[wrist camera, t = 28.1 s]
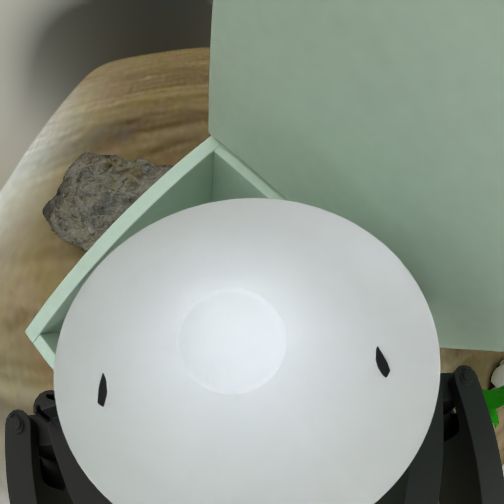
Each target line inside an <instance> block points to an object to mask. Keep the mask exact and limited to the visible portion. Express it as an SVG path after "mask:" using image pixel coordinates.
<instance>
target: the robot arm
mask: <svg viewBox="0 0 504 504" xmlns="http://www.w3.org/2000/svg"><path fill="white" fill-rule="evenodd" d="M376 363H377V366H378V369H379V370H380V372H381V374H382V375H383V376H384V377H385V378H386V377H387V376H388V374H389V372H390V369H389V366H388V363H387V361H386V359H385V357H384V356H383V354H382V352H381V350H380V349H379V347H378V346H377V348H376ZM106 396H107V384H106V378H105V376H104V373H103V374H102V377H101V380H100V384H99V390H98V404H99V405H101V406H102V407H104V404H105V400H106ZM454 408H456V412H457V413H455V412H454V411H453V409H454ZM34 413H35V414H36V415H27V414H26V413H25V412H24V411H22V410H13V411H12V412H11V413H10V414H9V415H8V417H7V419H6V424H5V458H6V474H7V484H8V492H9V499H10V504H112V503H111V502H110V501H109V500H108V499H107V498H106V497H105V496H104V495H103V494H102V493H101V492H100V491H99V490H98V489H97V488H96V486H95V485H94V484H93V483H92V482H91V481H90V479H89V478H88V477H87V475H86V474H85V473H84V471H83V470H82V468H81V467H80V465H79V464H78V462H77V460H76V459H75V457H74V455H73V453H72V451H71V449H70V447H69V445H68V443H67V440H66V438H65V435H64V433H63V430H62V427H61V424H60V420H59V417H58V412H57V407H56V401H55V394H54V391H52V390H49V391H44V392H43V393H41V394H40V395H39V396H38V397H37V398H36V400H35V403H34ZM438 502H439V504H504V477H503V470H502V464H501V459H500V454H499V449H498V444H497V440H496V436H495V432H494V428H493V424H492V421H491V417H490V414H489V410H488V407H487V404H486V401H485V398H484V395H483V392H482V389H481V386H480V383H479V380H478V378H477V375H476V374H475V372H474V371H473V370H472V369H471V368H470V367H468V366H464V365H462V366H459V367H458V368H457V369H456V370H455V371H454V372H453V373H440V383H439V391H438V398H437V402H436V407H435V411H434V414H433V417H432V420H431V423H430V426H429V429H428V431H427V434H426V436H425V438H424V441H423V443H422V444H421V446H420V448H419V450H418V452H417V454H416V455H415V457H414V459H413V460H412V462H411V463H410V465H409V466H408V468H407V469H406V470H405V472H404V473H403V474H402V476H401V477H400V478H399V479H398V481H397V482H396V483H395V484H394V485H393V486H392V487H391V488H390V489H389V490H388V491H387V492H386V493H385V494H384V495H383V496H382V497H381V498H380V499H379V500H378V501H377V502H376V503H374V504H438Z"/></svg>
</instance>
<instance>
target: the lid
mask: <svg viewBox="0 0 504 504" xmlns="http://www.w3.org/2000/svg"><path fill="white" fill-rule="evenodd" d="M209 133H210V134H211V135H212V136H214V137H215V138H216V139H217V140H219V141H220V142H221V143H222V144H223V145H225V146H226V147H227V148H228V149H230V150H231V151H232V152H233V153H234V154H236V155H237V156H238V157H239V158H240V159H242V160H243V161H244V162H245V163H246V164H247V165H249V166H250V167H251V168H252V169H253V170H254V171H256V172H257V173H258V174H259V175H260V176H261V177H263V178H264V179H265V180H266V181H267V182H268V183H269V184H271V185H272V186H273V187H274V188H275V189H276V190H277V191H278V192H280V193H281V194H282V195H283V196H284V197H285V198H286V199H287V200H288V201H293V202H299V203H303V204H306V205H310V206H314V207H318V208H321V209H323V210H326V211H329V212H331V213H334V214H336V215H339V216H341V217H343V218H345V219H347V220H349V221H351V222H353V223H355V224H356V225H358V226H359V227H361V228H363V229H364V230H366V231H367V232H369V233H370V234H372V235H373V236H374V237H376V238H377V239H378V240H379V241H380V242H382V243H383V244H384V245H385V246H387V247H388V248H389V249H390V250H391V251H392V252H393V253H394V254H395V255H396V256H397V257H398V258H399V260H400V261H401V262H402V263H403V265H404V266H405V267H406V268H407V270H408V271H409V272H410V273H411V275H412V277H413V278H414V280H415V281H416V283H417V284H418V286H419V288H420V290H421V291H422V293H423V295H424V297H425V299H426V301H427V304H428V306H429V309H430V312H431V314H432V317H433V321H434V324H435V328H436V332H437V337H438V343H439V346H443V347H452V348H462V349H473V350H486V351H501V352H504V0H213V9H212V26H211V46H210V75H209Z"/></svg>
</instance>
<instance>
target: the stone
mask: <svg viewBox="0 0 504 504" xmlns="http://www.w3.org/2000/svg"><path fill="white" fill-rule="evenodd" d="M172 167H174V166H171V165H164V166H158V165H153V164H151V163H150V162H149V161H148V160H147V159H144V158H141V159H137V160H136V161H126V160H124V159H122V158H121V157H119V156H117V155H113V156H109V155H100V154H93V153H89V152H85V153H83V154H82V155H81V156H80V157H79V158H78V159H77V160H76V161H75V162H74V163H73V164H72V165H71V166H70V167H69V169H68V170H67V172H66V174H65V176H64V178H63V182H62V184H61V186H60V187H59V188H58V191H57V194H56V196H55V197H54V198H53V199H52V200H50V201H49V202H48V203H47V204H46V205H45V207H44V208H43V215H44V217H45V218H46V220H47V221H48V222H49V224H50V226H51V228H52V231H53V232H55V233H56V234H57V235H58V236H59V237H61V238H63V239H65V240H66V241H70V242H71V243H73V244H74V245H76V246H77V247H82V248H83V249H84V250H85V251H88V250H89V249H90V248H91V247H92V246H93V245H94V244H95V243H96V241H97V240H98V239H99V238H100V237H101V236H102V235H103V234H104V233H105V232H106V231H107V230H108V229H109V227H110V226H111V225H112V224H113V223H114V222H115V221H116V220H117V219H118V218H119V217H120V216H121V215H122V214H123V213H124V212H125V211H126V210H127V209H128V208H129V207H130V206H131V205H132V204H133V203H134V202H135V201H136V200H137V199H138V198H140V197H141V196H142V195H143V194H144V193H145V192H146V191H147V190H148V189H149V188H150V187H151V186H152V185H153V184H155V183H156V182H157V181H158V180H159V179H160V178H161V177H162V176H163V175H165V174H166V173H167V172H168V171H169V170H170V169H171V168H172Z"/></svg>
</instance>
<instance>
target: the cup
mask: <svg viewBox="0 0 504 504" xmlns="http://www.w3.org/2000/svg"><path fill="white" fill-rule="evenodd" d="M377 346H378V347H379V349H380V350H381V352H382V354H383V356H384V357H385V359H386V361H387V363H388V366H389V369H390V372H389V374H388V376H387V377H386V378H385V377H384V376H383V375H382V374H381V372H380V370H379V369H378V366H377V363H376V348H377ZM103 373H104V376H105V378H106V384H107V396H106V400H105V404H104V407H102V406H101V405H99V404H98V390H99V384H100V380H101V377H102V374H103ZM439 383H440V350H439V343H438V337H437V332H436V328H435V324H434V321H433V317H432V314H431V312H430V309H429V306H428V304H427V301H426V299H425V297H424V295H423V293H422V291H421V290H420V288H419V286H418V284H417V283H416V281H415V280H414V278H413V277H412V275H411V273H410V272H409V271H408V270H407V268H406V267H405V266H404V265H403V263H402V262H401V261H400V260H399V258H398V257H397V256H396V255H395V254H394V253H393V252H392V251H391V250H390V249H389V248H388V247H387V246H385V245H384V244H383V243H382V242H380V241H379V240H378V239H377V238H376V237H374V236H373V235H372V234H370V233H369V232H367V231H366V230H364V229H363V228H361V227H359V226H358V225H356V224H355V223H353V222H351V221H349V220H347V219H345V218H343V217H341V216H339V215H336V214H334V213H331V212H329V211H326V210H323V209H321V208H318V207H314V206H310V205H306V204H303V203H299V202H293V201H286V200H280V199H267V198H243V199H230V200H223V201H217V202H211V203H206V204H203V205H199V206H195V207H191V208H188V209H185V210H182V211H180V212H177V213H174V214H172V215H169V216H167V217H165V218H163V219H161V220H159V221H157V222H155V223H153V224H151V225H149V226H147V227H145V228H144V229H142V230H141V231H139V232H137V233H136V234H134V235H133V236H131V237H130V238H128V239H127V240H126V241H124V242H123V243H122V244H121V245H120V246H118V247H117V248H116V249H115V250H114V251H112V252H111V253H110V254H109V255H108V256H107V257H106V258H105V259H104V260H103V261H102V262H101V263H100V264H99V265H98V266H97V267H96V269H95V270H94V271H93V272H92V274H91V275H90V276H89V278H88V279H87V280H86V281H85V283H84V284H83V285H82V287H81V289H80V290H79V292H78V294H77V295H76V297H75V299H74V301H73V302H72V304H71V306H70V309H69V311H68V313H67V315H66V318H65V320H64V323H63V326H62V329H61V332H60V336H59V339H58V344H57V349H56V355H55V362H54V394H55V401H56V407H57V412H58V417H59V420H60V424H61V427H62V430H63V433H64V435H65V438H66V440H67V443H68V445H69V447H70V449H71V451H72V453H73V455H74V457H75V459H76V460H77V462H78V464H79V465H80V467H81V468H82V470H83V471H84V473H85V474H86V475H87V477H88V478H89V479H90V481H91V482H92V483H93V484H94V485H95V486H96V488H97V489H98V490H99V491H100V492H101V493H102V494H103V495H104V496H105V497H106V498H107V499H108V500H109V501H110V502H111V503H112V504H374V503H376V502H377V501H378V500H379V499H380V498H381V497H382V496H383V495H384V494H385V493H386V492H387V491H388V490H389V489H390V488H391V487H392V486H393V485H394V484H395V483H396V482H397V481H398V479H399V478H400V477H401V476H402V474H403V473H404V472H405V470H406V469H407V468H408V466H409V465H410V463H411V462H412V460H413V459H414V457H415V455H416V454H417V452H418V450H419V448H420V446H421V444H422V443H423V441H424V438H425V436H426V434H427V431H428V429H429V426H430V423H431V420H432V417H433V414H434V411H435V407H436V402H437V398H438V391H439Z"/></svg>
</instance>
